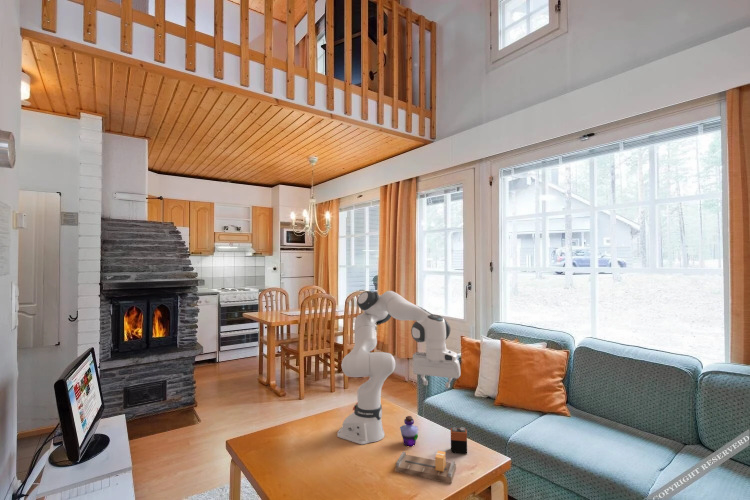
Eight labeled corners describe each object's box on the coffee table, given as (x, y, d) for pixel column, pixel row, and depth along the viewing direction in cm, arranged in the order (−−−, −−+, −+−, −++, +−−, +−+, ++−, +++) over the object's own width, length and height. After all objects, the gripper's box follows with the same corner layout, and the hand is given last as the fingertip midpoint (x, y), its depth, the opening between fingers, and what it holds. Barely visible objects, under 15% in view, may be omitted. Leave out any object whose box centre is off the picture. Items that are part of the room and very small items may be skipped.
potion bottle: (417, 449, 162) (416, 422, 162) (397, 447, 165) (397, 419, 165) (420, 440, 170) (420, 414, 171) (402, 438, 173) (401, 412, 173)
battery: (467, 454, 158) (466, 431, 158) (451, 453, 159) (450, 429, 159) (466, 449, 162) (466, 426, 162) (450, 448, 163) (450, 425, 163)
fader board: (395, 471, 146) (395, 463, 146) (402, 458, 155) (402, 450, 155) (451, 483, 138) (451, 474, 138) (455, 469, 147) (455, 460, 147)
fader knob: (435, 470, 143) (435, 456, 143) (438, 463, 147) (437, 450, 147) (443, 471, 141) (443, 458, 142) (445, 464, 146) (445, 451, 146)
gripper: (410, 353, 160) (411, 385, 159) (458, 357, 152) (459, 391, 152) (414, 350, 165) (415, 381, 165) (461, 353, 158) (461, 386, 158)
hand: (436, 386), depth 158 cm, fingers open, 8 cm apart
